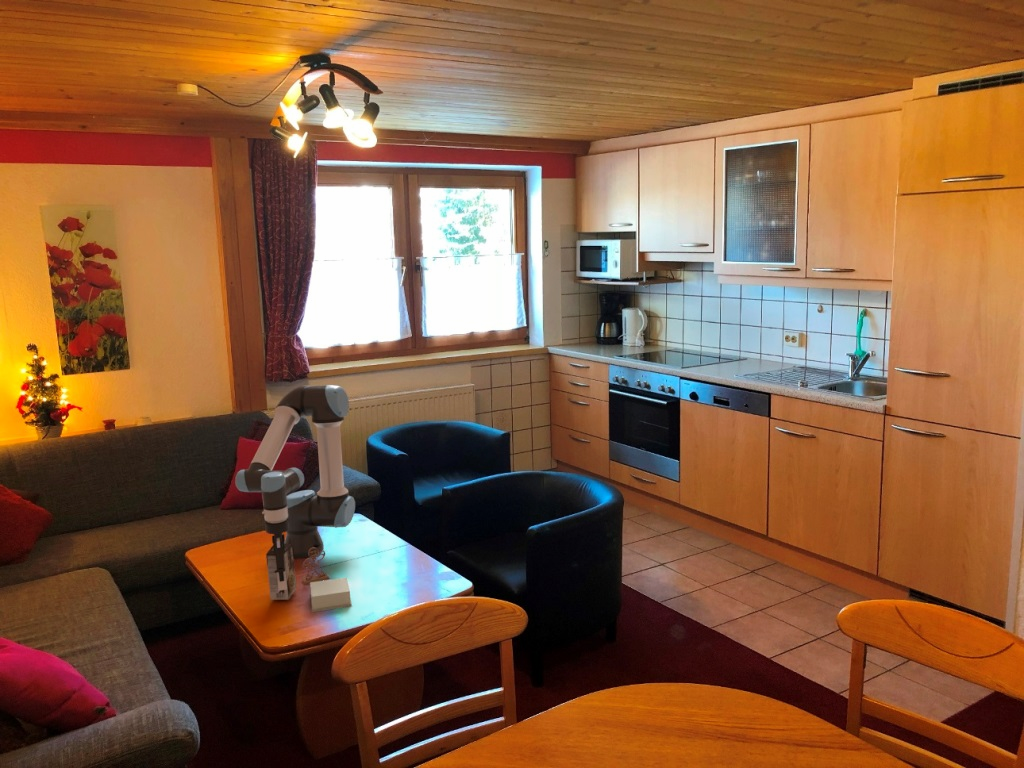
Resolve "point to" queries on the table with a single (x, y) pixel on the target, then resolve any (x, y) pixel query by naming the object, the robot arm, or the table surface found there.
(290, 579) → the coffee box
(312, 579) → the gingerbread man figurine
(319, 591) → the pedestal
